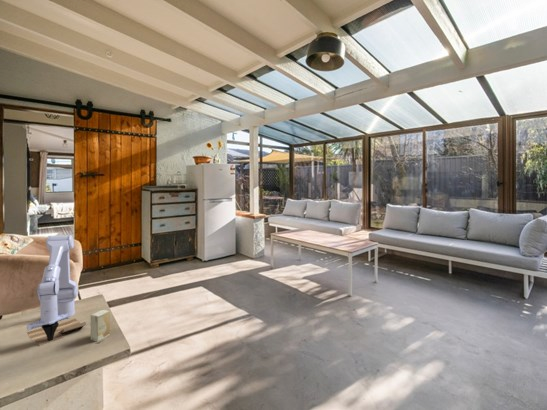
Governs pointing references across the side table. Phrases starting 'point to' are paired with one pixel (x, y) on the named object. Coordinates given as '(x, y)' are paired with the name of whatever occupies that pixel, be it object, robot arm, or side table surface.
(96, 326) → the skincare box
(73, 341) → the side table surface
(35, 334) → the laid oak row
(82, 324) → the plank
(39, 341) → the plank
